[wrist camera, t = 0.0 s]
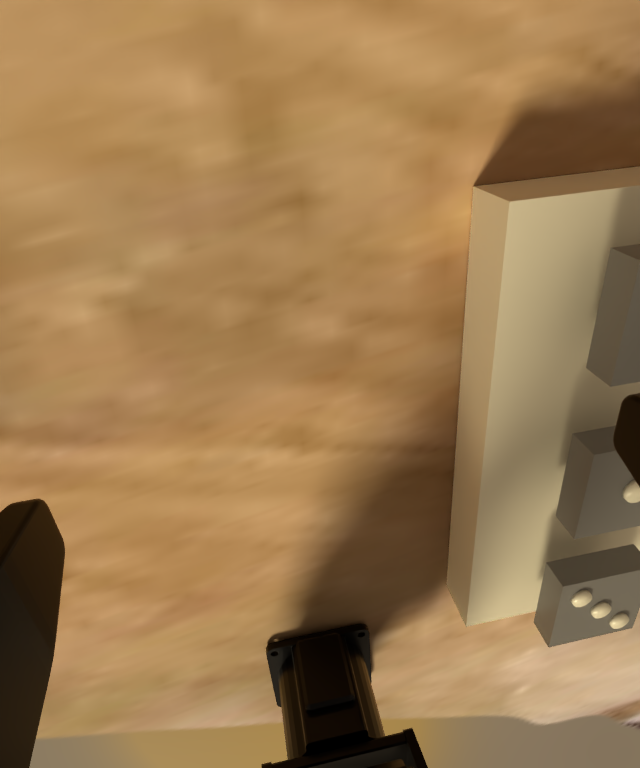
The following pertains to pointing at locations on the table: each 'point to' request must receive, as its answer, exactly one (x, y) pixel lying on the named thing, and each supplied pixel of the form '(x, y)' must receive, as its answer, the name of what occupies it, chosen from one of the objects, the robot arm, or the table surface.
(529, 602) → the panel
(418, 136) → the table surface
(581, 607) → the button three pips
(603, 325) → the button two pips
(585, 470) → the button one pip
